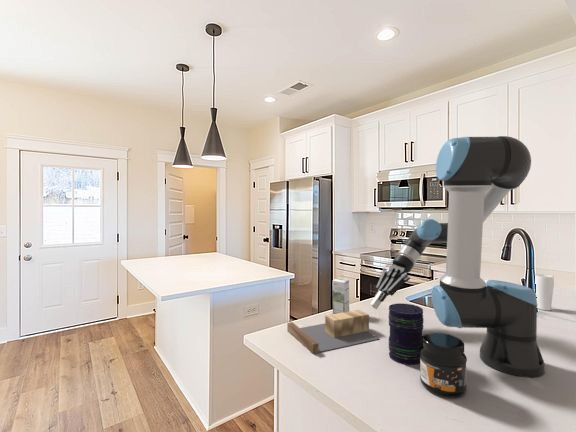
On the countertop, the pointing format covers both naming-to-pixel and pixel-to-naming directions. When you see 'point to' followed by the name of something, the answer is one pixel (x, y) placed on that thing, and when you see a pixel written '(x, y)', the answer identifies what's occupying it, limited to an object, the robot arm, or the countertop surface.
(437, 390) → the supplement container
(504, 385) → the countertop surface
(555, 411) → the countertop surface
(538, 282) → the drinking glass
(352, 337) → the mat
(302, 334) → the backstop strip
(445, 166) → the robot arm
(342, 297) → the syrup box
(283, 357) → the countertop surface
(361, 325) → the oak block
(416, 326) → the storage jar
